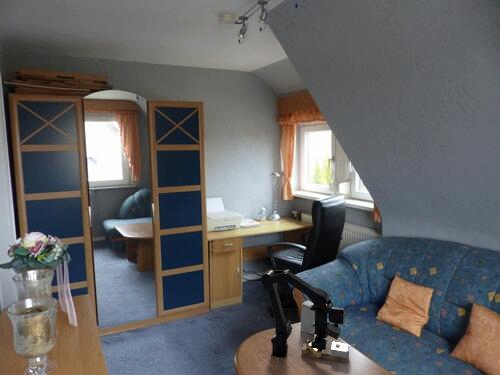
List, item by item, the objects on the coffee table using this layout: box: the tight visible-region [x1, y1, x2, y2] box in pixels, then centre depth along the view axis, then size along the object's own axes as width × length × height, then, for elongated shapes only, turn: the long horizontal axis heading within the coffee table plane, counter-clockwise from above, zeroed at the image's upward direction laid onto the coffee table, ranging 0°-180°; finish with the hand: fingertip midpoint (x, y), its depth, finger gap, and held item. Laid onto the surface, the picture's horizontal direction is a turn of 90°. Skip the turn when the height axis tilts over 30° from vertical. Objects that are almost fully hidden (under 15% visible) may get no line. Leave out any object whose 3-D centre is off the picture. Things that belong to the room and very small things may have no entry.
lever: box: [304, 338, 321, 357], centre depth 169 cm, size 11×3×3 cm, turn 23°
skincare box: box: [300, 300, 315, 336], centre depth 193 cm, size 8×6×15 cm
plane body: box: [300, 342, 350, 365], centre depth 170 cm, size 21×6×3 cm, turn 71°
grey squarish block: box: [331, 341, 349, 358], centre depth 168 cm, size 7×6×4 cm
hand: (320, 351), depth 166 cm, fingers closed
